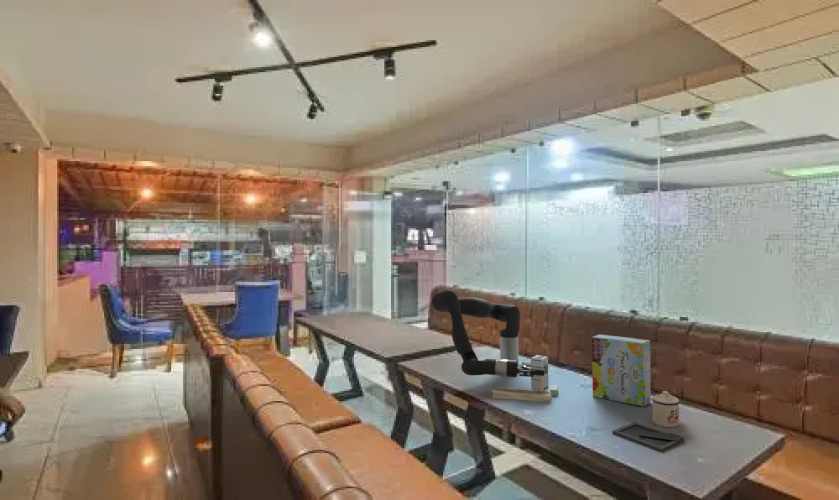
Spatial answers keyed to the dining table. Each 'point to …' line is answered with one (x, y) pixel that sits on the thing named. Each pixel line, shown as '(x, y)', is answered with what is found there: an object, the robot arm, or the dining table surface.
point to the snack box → (621, 369)
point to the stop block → (554, 390)
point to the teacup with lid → (665, 410)
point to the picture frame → (649, 436)
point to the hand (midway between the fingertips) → (544, 370)
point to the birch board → (522, 394)
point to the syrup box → (538, 381)
